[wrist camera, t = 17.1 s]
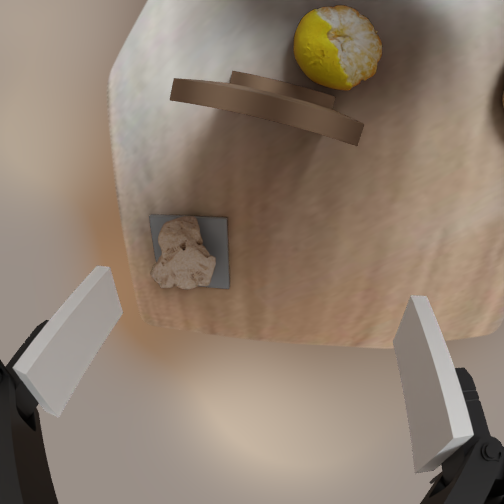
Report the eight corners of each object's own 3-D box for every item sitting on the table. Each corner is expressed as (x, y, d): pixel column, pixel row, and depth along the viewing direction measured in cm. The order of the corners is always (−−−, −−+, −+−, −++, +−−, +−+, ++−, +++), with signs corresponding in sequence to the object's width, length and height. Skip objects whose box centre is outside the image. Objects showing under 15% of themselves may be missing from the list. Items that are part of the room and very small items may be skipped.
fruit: (377, 98, 34) (374, 96, 27) (299, 83, 37) (278, 80, 31) (386, 19, 28) (384, 1, 22) (307, 9, 31) (287, -9, 25)
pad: (150, 214, 46) (149, 216, 46) (227, 217, 45) (226, 219, 44) (160, 280, 52) (159, 282, 52) (229, 286, 51) (229, 289, 50)
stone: (157, 266, 50) (145, 283, 46) (174, 205, 44) (161, 219, 40) (207, 287, 51) (200, 306, 46) (231, 228, 45) (224, 244, 41)
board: (225, 107, 37) (165, 123, 20) (234, 71, 35) (178, 55, 18) (324, 132, 37) (349, 169, 20) (334, 96, 35) (371, 100, 18)
